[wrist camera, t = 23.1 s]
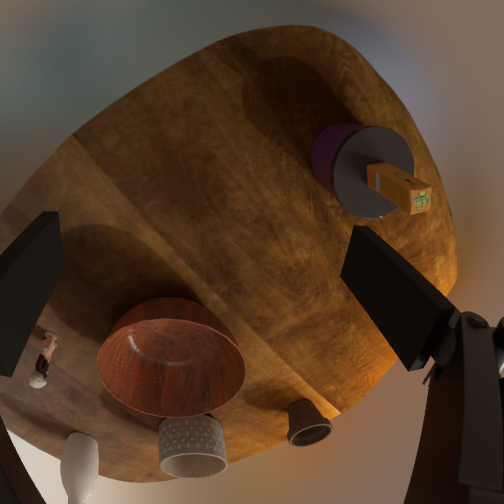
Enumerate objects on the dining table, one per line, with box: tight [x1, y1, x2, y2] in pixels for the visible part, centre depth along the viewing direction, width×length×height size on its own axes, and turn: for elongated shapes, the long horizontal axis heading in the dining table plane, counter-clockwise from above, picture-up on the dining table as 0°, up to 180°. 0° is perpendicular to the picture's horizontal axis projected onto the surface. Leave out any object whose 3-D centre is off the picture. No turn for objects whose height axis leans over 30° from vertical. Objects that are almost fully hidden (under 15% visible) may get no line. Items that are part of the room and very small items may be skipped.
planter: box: [159, 415, 228, 479], centre depth 69 cm, size 16×16×13 cm
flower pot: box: [287, 400, 333, 447], centre depth 73 cm, size 12×11×10 cm
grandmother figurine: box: [29, 331, 57, 388], centre depth 50 cm, size 8×4×13 cm, turn 169°
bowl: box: [96, 297, 247, 418], centre depth 54 cm, size 25×25×11 cm
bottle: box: [61, 432, 99, 504], centre depth 61 cm, size 11×11×25 cm
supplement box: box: [367, 162, 432, 215], centre depth 36 cm, size 3×3×10 cm
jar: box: [310, 122, 414, 219], centre depth 44 cm, size 13×13×10 cm
